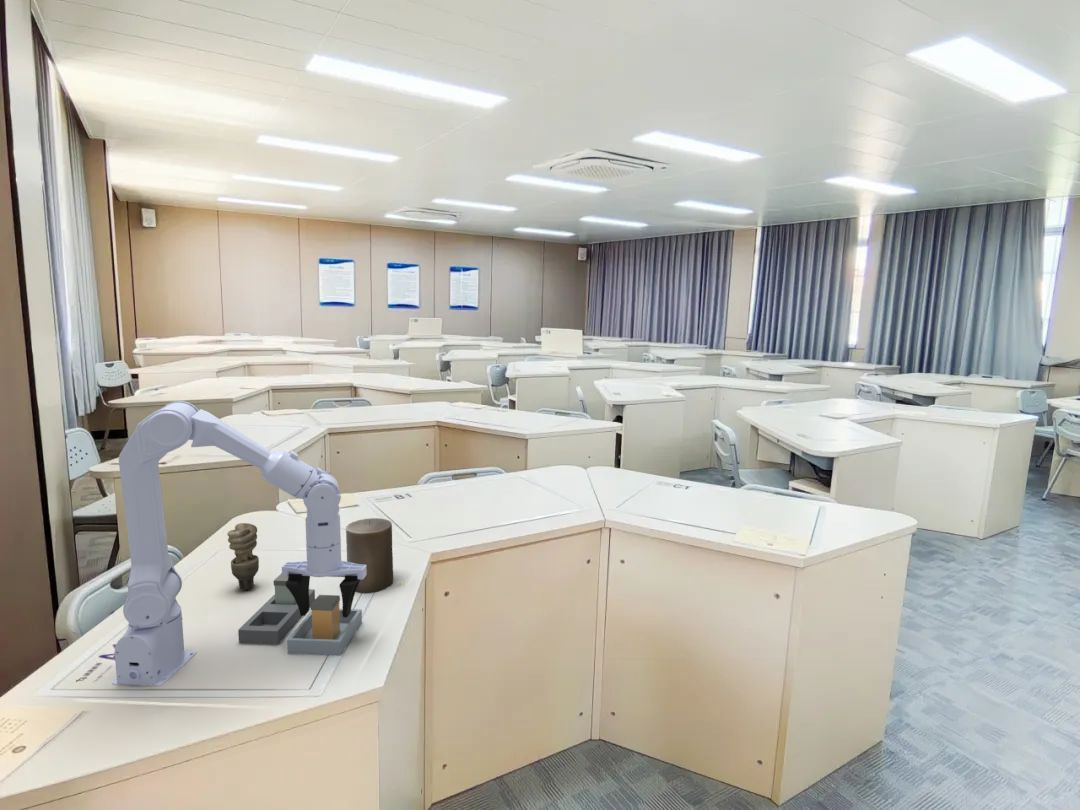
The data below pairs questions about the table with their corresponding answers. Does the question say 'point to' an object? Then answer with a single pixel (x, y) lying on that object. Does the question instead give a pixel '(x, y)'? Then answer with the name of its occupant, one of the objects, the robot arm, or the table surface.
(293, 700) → the table surface
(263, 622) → the block
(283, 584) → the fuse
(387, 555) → the pillar candle
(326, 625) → the block
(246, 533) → the light bulb
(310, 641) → the parts tray
